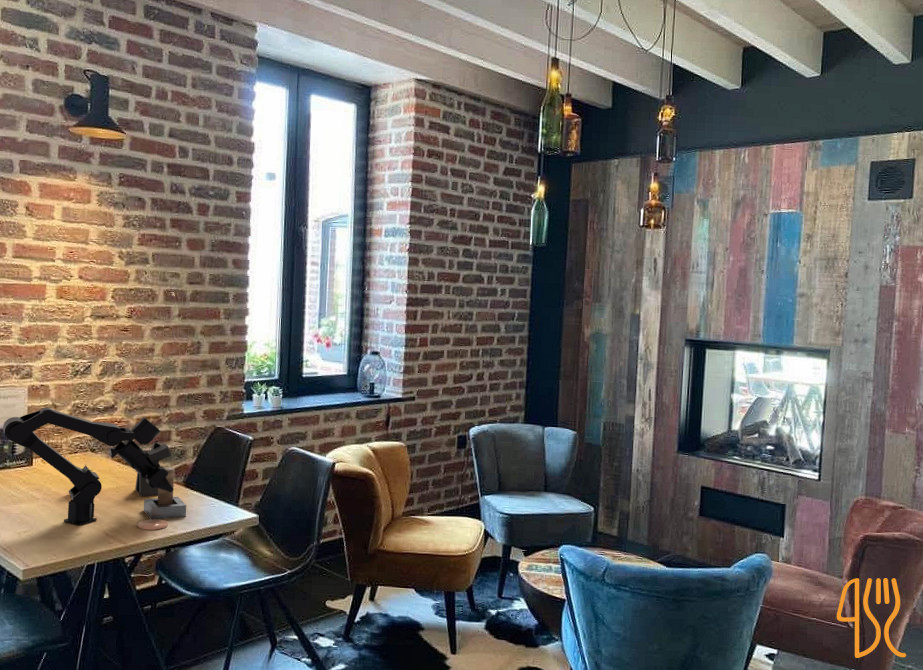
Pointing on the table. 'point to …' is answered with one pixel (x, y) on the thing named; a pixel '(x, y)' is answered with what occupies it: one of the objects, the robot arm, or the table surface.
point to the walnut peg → (164, 495)
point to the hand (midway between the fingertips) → (170, 488)
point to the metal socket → (164, 508)
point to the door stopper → (144, 487)
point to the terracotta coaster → (152, 524)
